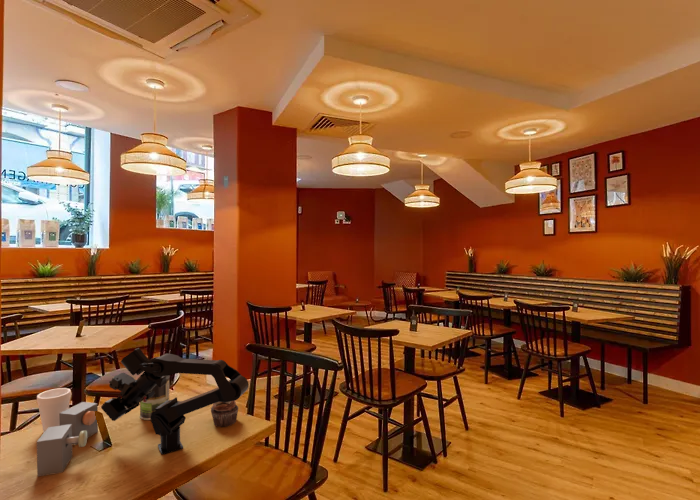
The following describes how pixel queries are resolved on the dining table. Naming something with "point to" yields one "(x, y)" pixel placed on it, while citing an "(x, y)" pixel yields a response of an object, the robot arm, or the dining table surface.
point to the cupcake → (224, 413)
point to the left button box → (54, 450)
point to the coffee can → (154, 400)
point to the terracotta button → (89, 417)
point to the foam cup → (53, 406)
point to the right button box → (79, 419)
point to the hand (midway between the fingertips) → (113, 416)
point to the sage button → (78, 439)
